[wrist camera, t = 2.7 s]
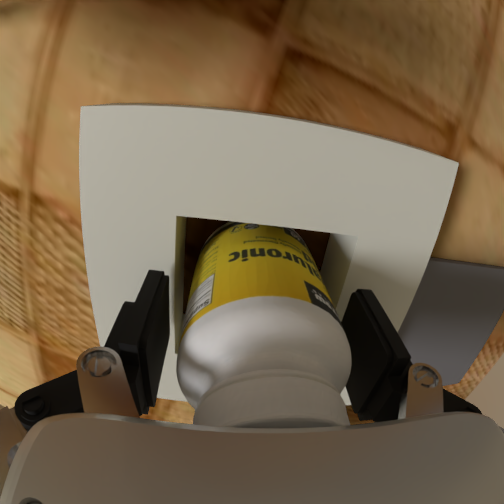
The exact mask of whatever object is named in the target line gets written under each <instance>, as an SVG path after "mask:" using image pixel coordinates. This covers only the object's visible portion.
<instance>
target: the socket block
mask: <svg viewBox="0 0 504 504" xmlns="http://www.w3.org/2000/svg"><path fill="white" fill-rule="evenodd" d="M458 165H459V163H458V162H455V161H453V160H450V159H448V158H445V157H443V156H440V155H437V154H435V153H432V152H429V151H427V150H424V149H421V148H418V147H415V146H411V145H408V144H405V143H401V142H398V141H394V140H391V139H387V138H383V137H380V136H376V135H372V134H368V133H364V132H360V131H356V130H351V129H347V128H343V127H338V126H333V125H329V124H324V123H319V122H314V121H309V120H303V119H297V118H292V117H286V116H279V115H273V114H266V113H259V112H251V111H243V110H235V109H226V108H215V107H204V106H190V105H173V104H142V103H112V104H100V105H90V106H81V114H80V139H79V178H80V203H81V219H82V231H83V242H84V251H85V260H86V268H87V275H88V282H89V289H90V295H91V301H92V307H93V312H94V318H95V323H96V328H97V333H98V337H99V342H100V346H101V347H104V345H105V343H106V341H107V338H108V336H109V334H110V331H111V329H112V327H113V325H114V323H115V320H116V318H117V316H118V314H119V312H120V309H121V307H122V305H123V303H124V302H125V301H129V302H135V300H136V298H137V296H138V293H139V291H140V289H141V286H142V284H143V282H144V280H145V277H146V275H147V273H148V271H149V270H158V271H164V274H165V275H168V276H169V302H170V337H169V342H168V347H167V351H166V356H165V360H164V365H163V369H162V374H161V379H160V383H159V388H158V393H157V398H163V399H170V400H178V401H187V399H186V398H185V396H184V395H183V393H182V391H181V389H180V386H179V383H178V379H177V373H176V365H177V354H178V348H179V343H180V338H181V333H182V328H183V323H184V318H185V314H183V292H184V261H185V240H186V222H187V217H195V218H205V219H215V220H224V221H234V222H243V223H252V224H261V225H270V226H279V227H287V228H296V229H304V230H312V231H320V232H328V233H330V237H329V240H328V244H327V248H326V252H325V256H324V260H323V264H322V267H321V271H320V275H321V277H322V279H323V282H324V284H325V286H326V289H327V291H328V293H329V295H330V298H331V300H332V303H333V305H334V308H335V310H336V312H337V314H338V317H339V319H340V321H342V319H343V316H344V313H345V310H346V308H347V305H348V302H349V299H350V296H351V294H352V293H353V292H356V290H357V289H370V290H372V291H373V293H374V294H375V296H376V298H377V299H378V301H379V303H380V304H381V306H382V307H383V309H384V311H385V312H386V314H387V316H388V317H389V319H390V321H391V323H392V324H393V326H394V328H395V329H396V331H397V333H398V331H399V329H400V327H401V324H402V322H403V320H404V318H405V316H406V314H407V312H408V309H409V307H410V305H411V303H412V300H413V298H414V296H415V293H416V291H417V289H418V286H419V284H420V281H421V279H422V277H423V274H424V272H425V269H426V266H427V264H428V261H429V259H430V256H431V253H432V251H433V248H434V245H435V242H436V239H437V236H438V234H439V231H440V228H441V225H442V222H443V218H444V215H445V212H446V209H447V206H448V202H449V199H450V195H451V192H452V188H453V185H454V181H455V177H456V173H457V169H458ZM340 395H341V397H342V399H343V401H344V403H345V405H351V402H350V399H349V396H348V393H347V390H346V386H345V387H344V389H343V391H342V392H341V394H340ZM187 402H188V401H187Z"/></svg>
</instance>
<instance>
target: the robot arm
mask: <svg viewBox="0 0 504 504" xmlns="http://www.w3.org/2000/svg"><path fill="white" fill-rule="evenodd" d="M341 323H342V326H343V329H344V331H345V334H346V337H347V340H348V343H349V346H350V350H351V359H352V366H351V372H350V375H349V378H348V381H347V383H346V390H347V393H348V396H349V399H350V402H351V405H352V408H353V411H354V413H357V414H358V417H359V420H360V421H363V420H373V421H375V422H374V423H367V424H357V425H346V426H333V427H316V428H235V427H217V426H204V425H193V424H183V423H174V422H165V421H157V420H150V419H143V418H140V417H139V416H141V415H142V414H148V411H149V406H151V407H154V406H155V403H156V398H157V393H158V388H159V383H160V379H161V374H162V369H163V365H164V360H165V356H166V351H167V347H168V342H169V337H170V302H169V276H168V275H165V274H164V271H158V270H149V271H148V273H147V275H146V277H145V280H144V282H143V284H142V286H141V289H140V291H139V293H138V296H137V298H136V300H135V302H129V301H125V302H124V303H123V305H122V307H121V309H120V312H119V314H118V316H117V318H116V320H115V323H114V325H113V327H112V329H111V331H110V334H109V336H108V338H107V341H106V343H105V345H104V347H93V348H89V349H87V350H86V351H84V352H83V353H82V354H81V355H80V356H79V357H78V359H77V364H76V367H77V370H75V371H73V372H70V373H68V374H66V375H63V376H61V377H58V378H56V379H54V380H51V381H49V382H46V383H44V384H42V385H39V386H37V387H34V388H32V389H29V390H27V391H25V392H23V393H22V394H21V395H20V396H19V397H18V398H17V400H16V402H15V407H13V408H11V409H9V408H8V407H7V406H6V407H4V408H2V409H0V504H504V429H503V428H501V427H499V426H498V425H497V424H496V423H495V421H494V420H492V419H491V418H489V417H487V416H485V415H482V413H481V411H480V410H479V409H478V408H477V407H476V406H474V405H473V404H471V403H469V402H467V401H465V400H463V399H461V398H460V397H458V396H456V395H454V394H452V393H450V392H448V391H447V390H445V389H443V386H442V378H441V375H440V374H439V372H438V371H437V370H436V369H435V368H433V367H432V366H430V365H428V364H425V363H415V364H412V362H411V360H410V359H411V358H412V357H411V356H410V354H409V352H408V350H407V348H406V347H405V345H404V343H403V341H402V340H401V338H400V336H399V334H398V333H397V331H396V329H395V328H394V326H393V324H392V323H391V321H390V319H389V317H388V316H387V314H386V312H385V311H384V309H383V307H382V306H381V304H380V303H379V301H378V299H377V298H376V296H375V294H374V293H373V291H372V290H370V289H357V290H356V292H353V293H352V294H351V296H350V299H349V302H348V305H347V308H346V310H345V313H344V316H343V319H342V321H341Z"/></svg>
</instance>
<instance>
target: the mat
mask: <svg viewBox="0 0 504 504" xmlns="http://www.w3.org/2000/svg"><path fill="white" fill-rule="evenodd" d="M503 311H504V267H499V266H492V265H484V264H477V263H470V262H462V261H455V260H447V259H439V258H432V257H430V259H429V261H428V264H427V266H426V269H425V272H424V274H423V277H422V279H421V281H420V284H419V286H418V289H417V291H416V293H415V296H414V298H413V300H412V303H411V305H410V307H409V309H408V312H407V314H406V316H405V318H404V320H403V322H402V324H401V327H400V329H399V331H398V334H399V336H400V338H401V340H402V341H403V343H404V345H405V347H406V348H407V350H408V352H409V354H410V356H411V357H412V358H411V359H410V360H411V362H412V364H415V363H425V364H428V365H430V366H432V367H433V368H435V369H436V370H437V371H438V372H439V374H440V375H441V378H442V386H445V385H450V384H456V383H459V382H460V381H461V379H462V378H463V376H464V375H465V373H466V372H467V371H468V369H469V368H470V366H471V365H472V363H473V362H474V360H475V359H476V357H477V355H478V354H479V352H480V351H481V349H482V348H483V346H484V344H485V343H486V341H487V339H488V338H489V336H490V334H491V333H492V331H493V329H494V327H495V326H496V324H497V322H498V320H499V318H500V317H501V315H502V313H503Z"/></svg>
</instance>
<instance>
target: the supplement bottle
mask: <svg viewBox="0 0 504 504" xmlns="http://www.w3.org/2000/svg"><path fill="white" fill-rule="evenodd" d="M351 366H352V359H351V350H350V346H349V343H348V340H347V337H346V334H345V331H344V329H343V326H342V323H341V321H340V319H339V317H338V314H337V312H336V310H335V308H334V305H333V303H332V300H331V298H330V295H329V293H328V291H327V289H326V286H325V284H324V282H323V279H322V277H321V275H320V273H319V270H318V268H317V266H316V264H315V261H314V259H313V257H312V255H311V253H310V251H309V249H308V247H307V245H306V243H305V242H304V240H303V239H302V238H301V236H300V235H299V234H298V233H297V232H296V231H295V230H293V229H292V228H287V227H279V226H270V225H261V224H252V223H243V222H234V221H230V222H228V223H226V224H224V225H222V226H221V227H220V228H218V229H217V230H216V231H215V232H213V233H212V235H211V236H210V237H209V238H208V239H207V240H206V242H205V244H204V245H203V247H202V249H201V251H200V254H199V257H198V260H197V264H196V267H195V272H194V276H193V281H192V285H191V290H190V295H189V299H188V304H187V309H186V314H185V318H184V323H183V328H182V333H181V338H180V343H179V348H178V354H177V365H176V373H177V379H178V383H179V386H180V389H181V391H182V393H183V395H184V396H185V398H186V399H187V401H188V402H189V404H190V405H191V406H192V407H193V408H194V409H195V415H194V419H193V425H204V426H217V427H235V428H316V427H333V426H346V425H350V422H349V419H348V415H347V411H346V406H345V403H344V401H343V399H342V397H341V395H340V394H341V392H342V391H343V389H344V387H345V386H346V383H347V381H348V378H349V375H350V372H351Z"/></svg>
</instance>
